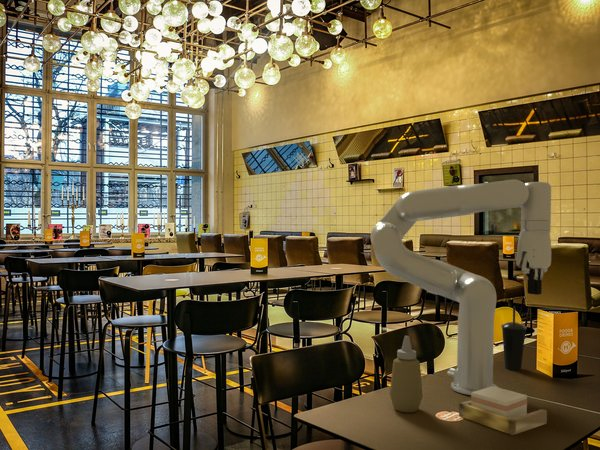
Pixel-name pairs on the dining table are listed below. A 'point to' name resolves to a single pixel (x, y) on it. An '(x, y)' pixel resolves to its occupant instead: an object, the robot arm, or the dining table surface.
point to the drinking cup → (513, 343)
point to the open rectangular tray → (503, 419)
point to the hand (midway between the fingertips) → (534, 293)
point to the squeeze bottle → (406, 379)
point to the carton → (500, 401)
